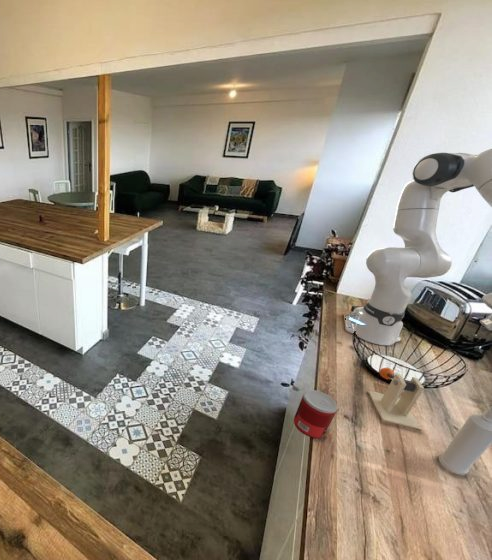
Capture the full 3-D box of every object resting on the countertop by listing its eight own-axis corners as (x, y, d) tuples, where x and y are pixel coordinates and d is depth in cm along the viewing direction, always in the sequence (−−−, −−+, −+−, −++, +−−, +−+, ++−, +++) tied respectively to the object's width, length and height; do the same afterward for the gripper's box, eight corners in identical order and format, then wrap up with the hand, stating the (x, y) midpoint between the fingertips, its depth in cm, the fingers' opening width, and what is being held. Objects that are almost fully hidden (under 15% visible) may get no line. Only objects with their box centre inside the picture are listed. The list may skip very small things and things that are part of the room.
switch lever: (376, 375, 103) (378, 365, 103) (389, 378, 102) (391, 367, 102) (400, 391, 90) (403, 379, 90) (416, 394, 89) (419, 382, 88)
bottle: (471, 479, 77) (533, 407, 66) (446, 475, 78) (504, 403, 67) (454, 459, 81) (510, 389, 70) (431, 456, 82) (483, 386, 71)
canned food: (327, 443, 86) (341, 415, 81) (295, 434, 88) (307, 406, 83) (320, 421, 92) (333, 394, 87) (290, 413, 95) (301, 386, 90)
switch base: (366, 393, 102) (382, 363, 96) (400, 401, 99) (419, 371, 93) (380, 422, 92) (399, 390, 86) (419, 432, 89) (441, 400, 83)
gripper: (518, 276, 87) (455, 300, 94) (587, 312, 70) (504, 337, 77) (530, 293, 87) (467, 315, 95) (602, 332, 70) (517, 356, 78)
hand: (484, 325), depth 86 cm, fingers closed
